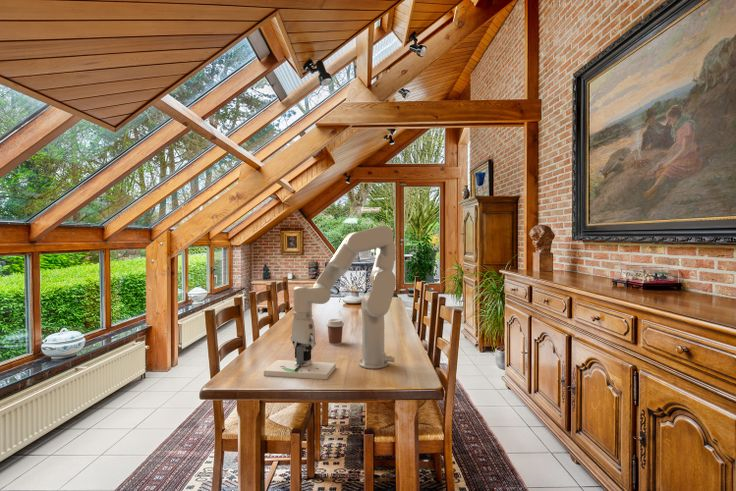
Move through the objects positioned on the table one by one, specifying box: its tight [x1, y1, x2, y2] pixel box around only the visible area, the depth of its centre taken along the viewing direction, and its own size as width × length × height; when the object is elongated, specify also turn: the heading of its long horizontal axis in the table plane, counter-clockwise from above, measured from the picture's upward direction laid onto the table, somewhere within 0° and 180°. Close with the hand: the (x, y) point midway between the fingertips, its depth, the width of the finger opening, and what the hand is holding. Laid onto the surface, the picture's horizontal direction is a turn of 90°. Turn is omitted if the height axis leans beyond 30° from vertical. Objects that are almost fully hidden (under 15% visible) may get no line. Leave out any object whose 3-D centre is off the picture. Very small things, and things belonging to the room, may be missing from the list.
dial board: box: [263, 359, 337, 380], centre depth 166 cm, size 26×14×2 cm, turn 80°
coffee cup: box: [325, 318, 345, 346], centre depth 209 cm, size 9×9×12 cm
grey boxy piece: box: [294, 343, 313, 371], centre depth 167 cm, size 14×7×8 cm, turn 171°
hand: (303, 358), depth 169 cm, fingers closed on grey boxy piece, 5 cm apart
